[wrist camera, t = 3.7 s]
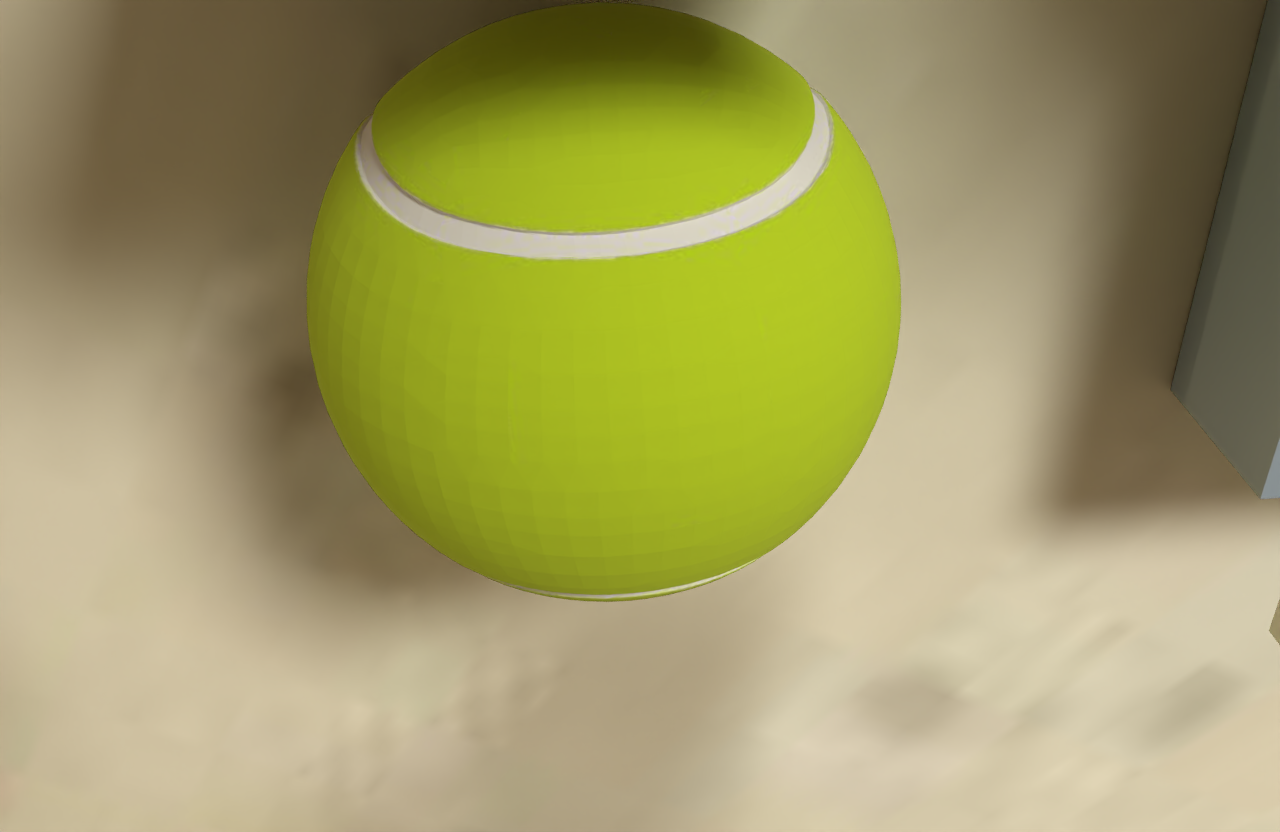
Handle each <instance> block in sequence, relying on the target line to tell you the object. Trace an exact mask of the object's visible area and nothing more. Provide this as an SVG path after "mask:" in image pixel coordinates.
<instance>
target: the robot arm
mask: <svg viewBox="0 0 1280 832" xmlns="http://www.w3.org/2000/svg"><path fill="white" fill-rule="evenodd" d="M1269 631H1270V633H1271V634H1272V635H1273V637H1274V638H1275V639H1276V641H1277V642H1278V643H1279V645H1280V599H1279V602H1278V605H1277V608H1276V611H1275V614H1274V617H1273V620H1272V623H1271V626H1270V629H1269Z"/></svg>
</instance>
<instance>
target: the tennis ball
mask: <svg viewBox="0 0 1280 832" xmlns="http://www.w3.org/2000/svg"><path fill="white" fill-rule="evenodd" d="M900 316H901V288H900V272H899V265H898V257H897V251H896V245H895V240H894V236H893V232H892V227H891V223H890V219H889V215H888V211H887V208H886V205H885V202H884V199H883V197H882V194H881V191H880V189H879V186H878V184H877V182H876V179H875V177H874V175H873V172H872V170H871V168H870V165H869V164H868V162H867V160H866V158H865V156H864V155H863V153H862V151H861V149H860V148H859V146H858V144H857V142H856V141H855V139H854V137H853V135H852V134H851V132H850V131H849V129H848V128H847V126H846V125H845V124H844V122H843V121H842V119H841V118H840V117H839V115H838V114H837V113H836V111H835V110H834V109H833V108H832V106H831V105H830V104H829V103H828V102H827V100H826V99H825V98H824V97H823V96H822V95H821V94H820V93H819V92H817V91H816V90H814V89H812V88H810V87H809V85H808V83H807V82H806V80H805V79H804V78H803V77H802V76H801V75H800V74H799V73H798V72H797V71H796V70H794V69H793V68H792V67H791V66H789V65H788V64H787V63H785V62H784V61H782V60H781V59H780V58H778V57H777V56H775V55H774V54H772V53H771V52H769V51H768V50H766V49H765V48H763V47H761V46H760V45H758V44H756V43H754V42H752V41H751V40H749V39H747V38H745V37H743V36H742V35H740V34H738V33H736V32H733V31H731V30H728V29H726V28H724V27H721V26H719V25H717V24H714V23H712V22H710V21H707V20H704V19H701V18H698V17H695V16H692V15H688V14H685V13H681V12H677V11H672V10H668V9H664V8H659V7H652V6H645V5H638V4H625V3H602V2H598V3H584V4H570V5H561V6H556V7H550V8H544V9H538V10H534V11H530V12H527V13H523V14H519V15H515V16H512V17H509V18H506V19H503V20H501V21H498V22H495V23H492V24H489V25H487V26H485V27H482V28H480V29H478V30H476V31H474V32H471V33H469V34H467V35H465V36H463V37H462V38H460V39H458V40H456V41H455V42H453V43H451V44H449V45H448V46H446V47H444V48H442V49H441V50H439V51H437V52H436V53H435V54H433V55H432V56H430V57H429V58H428V59H426V60H425V61H424V62H422V63H421V64H419V65H418V66H417V67H415V68H414V69H413V70H411V71H410V72H409V73H407V74H406V75H405V76H404V77H403V78H402V79H401V80H400V81H398V82H397V83H396V84H395V85H394V86H393V87H392V88H391V89H390V90H389V91H388V92H387V93H386V94H385V95H384V96H383V97H382V98H381V99H380V101H379V102H378V103H377V105H376V108H375V110H374V113H373V114H371V115H370V116H368V117H366V118H365V119H364V121H363V122H362V123H361V124H360V125H359V127H358V128H357V130H356V132H355V133H354V135H353V136H352V138H351V140H350V141H349V143H348V145H347V147H346V148H345V150H344V152H343V154H342V156H341V157H340V159H339V161H338V163H337V165H336V168H335V170H334V172H333V175H332V177H331V179H330V182H329V184H328V186H327V189H326V191H325V194H324V197H323V200H322V203H321V207H320V210H319V214H318V217H317V221H316V224H315V228H314V232H313V237H312V243H311V248H310V256H309V264H308V273H307V325H308V334H309V344H310V350H311V354H312V359H313V363H314V368H315V372H316V377H317V381H318V385H319V388H320V391H321V394H322V397H323V400H324V403H325V406H326V408H327V411H328V414H329V416H330V418H331V420H332V422H333V424H334V427H335V429H336V431H337V433H338V435H339V437H340V439H341V441H342V444H343V446H344V447H345V449H346V451H347V453H348V454H349V456H350V458H351V459H352V461H353V463H354V464H355V466H356V467H357V468H358V470H359V471H360V473H361V474H362V475H363V477H364V478H365V480H366V481H367V482H368V484H369V485H370V487H371V488H372V489H373V491H374V492H375V493H376V494H377V495H378V497H379V498H380V499H381V500H382V501H383V502H384V503H385V505H386V506H387V507H388V508H389V509H390V510H391V511H392V512H393V513H394V514H395V515H396V516H397V517H398V518H399V519H400V520H401V521H402V522H403V523H404V524H405V525H406V526H408V527H409V528H410V529H411V530H412V531H413V532H414V533H415V534H416V535H418V536H419V537H420V538H422V539H423V540H424V541H426V542H427V543H428V544H429V545H431V546H432V547H434V548H435V549H436V550H438V551H439V552H440V553H442V554H444V555H445V556H447V557H449V558H450V559H452V560H454V561H455V562H457V563H459V564H460V565H462V566H464V567H466V568H468V569H470V570H473V571H475V572H477V573H479V574H481V575H483V576H485V577H487V578H489V579H492V580H494V581H497V582H499V583H502V584H504V585H507V586H510V587H513V588H516V589H519V590H523V591H527V592H531V593H535V594H539V595H543V596H549V597H555V598H562V599H569V600H579V601H604V602H612V601H631V600H639V599H648V598H653V597H659V596H664V595H669V594H673V593H677V592H681V591H685V590H689V589H693V588H696V587H699V586H702V585H705V584H708V583H711V582H713V581H715V580H718V579H720V578H723V577H725V576H727V575H729V574H731V573H733V572H736V571H738V570H739V569H741V568H743V567H745V566H747V565H749V564H751V563H752V562H754V561H755V560H757V559H758V558H760V557H761V556H763V555H764V554H766V553H768V552H769V551H771V550H772V549H774V548H775V547H777V546H778V545H780V544H781V543H783V542H784V541H785V540H786V539H788V538H789V537H790V536H791V535H793V534H794V533H795V532H796V531H797V530H799V529H800V528H801V527H802V526H803V525H804V524H805V523H806V522H807V521H808V520H809V519H810V518H812V517H813V515H814V514H815V513H816V512H817V511H818V510H819V509H820V508H821V507H822V506H823V505H824V503H825V502H826V501H827V500H828V499H829V498H830V496H831V495H832V494H833V493H834V492H835V491H836V489H837V488H838V487H839V485H840V484H841V483H842V481H843V480H844V478H845V477H846V475H847V474H848V472H849V471H850V469H851V468H852V466H853V465H854V463H855V462H856V460H857V459H858V457H859V456H860V454H861V452H862V450H863V448H864V446H865V444H866V442H867V441H868V438H869V436H870V434H871V432H872V430H873V428H874V426H875V423H876V421H877V419H878V416H879V414H880V412H881V409H882V407H883V403H884V400H885V397H886V394H887V391H888V388H889V384H890V380H891V376H892V372H893V367H894V363H895V358H896V354H897V347H898V338H899V329H900Z"/></svg>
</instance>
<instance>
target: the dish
mask: <svg viewBox="0 0 1280 832" xmlns="http://www.w3.org/2000/svg"><path fill="white" fill-rule="evenodd" d="M1171 391H1172V392H1173V394H1174V395H1175V396H1176V397H1177V398H1178V400H1179V401H1180V402H1181V403H1182V405H1183V406H1184V407H1185V408H1186V409H1187V411H1188V412H1189V413H1190V414H1191V415H1192V417H1193V418H1194V419H1195V420H1196V422H1197V423H1198V424H1199V425H1200V426H1201V428H1202V429H1203V430H1204V431H1205V433H1206V434H1207V435H1208V436H1209V437H1210V439H1211V440H1212V441H1213V442H1214V444H1215V445H1216V446H1217V447H1218V448H1219V450H1220V451H1221V452H1222V453H1223V454H1224V456H1225V457H1226V458H1227V459H1228V461H1229V462H1230V463H1231V464H1232V465H1233V467H1234V468H1235V469H1236V470H1237V472H1238V473H1239V474H1240V475H1241V476H1242V478H1243V479H1244V480H1245V481H1246V482H1247V484H1248V485H1249V486H1250V487H1251V489H1252V490H1253V491H1254V492H1255V493H1256V495H1257V496H1258V497H1259V498H1260V499H1270V498H1280V0H1268V1H1267V5H1266V9H1265V13H1264V17H1263V21H1262V25H1261V29H1260V33H1259V37H1258V41H1257V45H1256V49H1255V53H1254V57H1253V61H1252V65H1251V69H1250V73H1249V77H1248V81H1247V85H1246V89H1245V93H1244V97H1243V101H1242V105H1241V109H1240V113H1239V117H1238V121H1237V125H1236V129H1235V133H1234V137H1233V141H1232V145H1231V149H1230V154H1229V158H1228V162H1227V166H1226V170H1225V174H1224V178H1223V182H1222V186H1221V190H1220V194H1219V198H1218V202H1217V206H1216V210H1215V214H1214V218H1213V222H1212V226H1211V230H1210V234H1209V238H1208V242H1207V246H1206V250H1205V254H1204V258H1203V262H1202V266H1201V270H1200V274H1199V278H1198V282H1197V286H1196V290H1195V294H1194V298H1193V302H1192V306H1191V310H1190V314H1189V318H1188V322H1187V326H1186V330H1185V334H1184V338H1183V342H1182V346H1181V350H1180V354H1179V358H1178V362H1177V366H1176V370H1175V374H1174V378H1173V382H1172V386H1171Z"/></svg>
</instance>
